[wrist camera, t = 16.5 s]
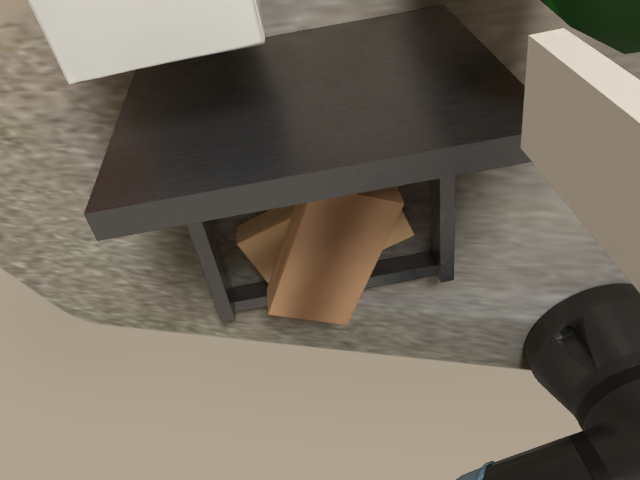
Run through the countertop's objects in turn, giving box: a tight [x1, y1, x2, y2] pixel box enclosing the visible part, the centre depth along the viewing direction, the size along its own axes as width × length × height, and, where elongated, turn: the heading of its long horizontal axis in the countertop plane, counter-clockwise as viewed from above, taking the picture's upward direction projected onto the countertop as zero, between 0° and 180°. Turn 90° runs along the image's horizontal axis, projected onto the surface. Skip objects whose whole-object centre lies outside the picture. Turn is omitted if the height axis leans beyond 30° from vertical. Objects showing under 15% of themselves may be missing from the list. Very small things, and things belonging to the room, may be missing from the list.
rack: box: [84, 5, 532, 322], centre depth 39 cm, size 23×21×18 cm
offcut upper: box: [267, 186, 404, 325], centre depth 45 cm, size 7×13×3 cm, turn 163°
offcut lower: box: [237, 205, 414, 284], centre depth 48 cm, size 7×13×3 cm, turn 117°
